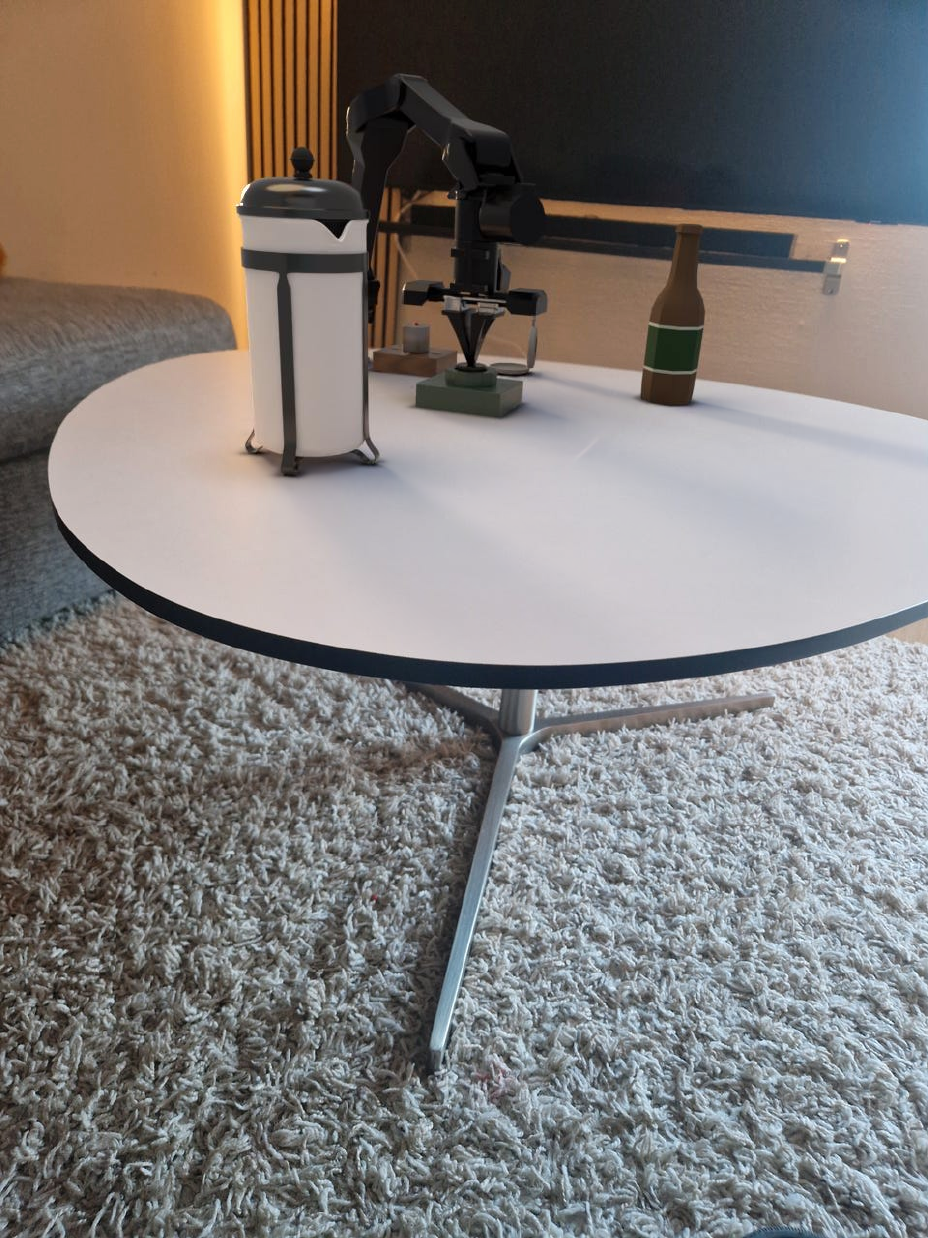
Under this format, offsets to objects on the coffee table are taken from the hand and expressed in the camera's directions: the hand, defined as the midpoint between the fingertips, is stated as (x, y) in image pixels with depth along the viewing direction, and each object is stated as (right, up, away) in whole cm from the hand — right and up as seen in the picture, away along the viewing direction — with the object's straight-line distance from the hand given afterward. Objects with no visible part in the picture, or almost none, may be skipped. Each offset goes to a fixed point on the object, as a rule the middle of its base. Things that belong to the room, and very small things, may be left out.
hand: (471, 364), depth 122 cm
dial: (-9, +9, +23) cm, 26 cm away
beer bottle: (+29, -2, +11) cm, 31 cm away
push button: (0, -2, +1) cm, 2 cm away
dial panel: (-9, +6, +25) cm, 27 cm away
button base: (0, -5, +2) cm, 6 cm away
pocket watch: (+8, +6, +26) cm, 28 cm away
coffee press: (-19, -17, -23) cm, 34 cm away
